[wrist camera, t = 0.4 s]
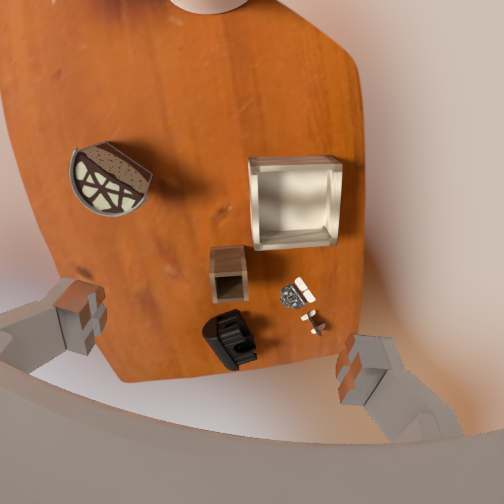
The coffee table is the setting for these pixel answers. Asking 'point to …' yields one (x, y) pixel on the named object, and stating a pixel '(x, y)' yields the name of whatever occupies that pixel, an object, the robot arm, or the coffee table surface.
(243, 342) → the end cap
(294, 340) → the coffee table surface
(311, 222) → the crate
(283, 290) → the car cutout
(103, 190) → the food container
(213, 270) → the small crate
